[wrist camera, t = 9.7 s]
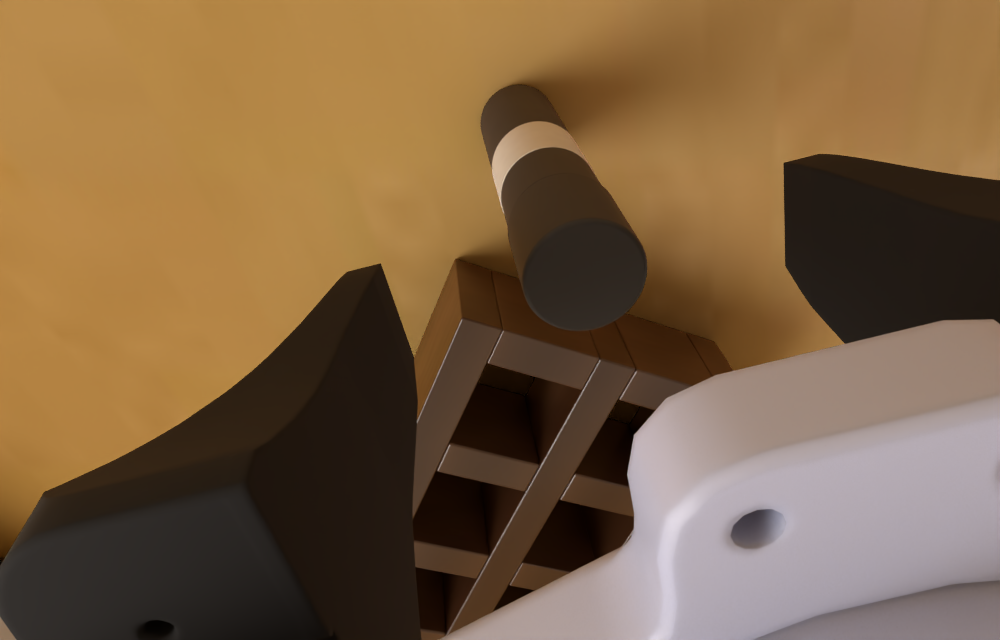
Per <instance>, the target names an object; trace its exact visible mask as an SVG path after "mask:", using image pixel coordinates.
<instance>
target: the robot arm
mask: <svg viewBox="0 0 1000 640" xmlns="http://www.w3.org/2000/svg"><path fill="white" fill-rule="evenodd" d="M784 212H785V266H786V268H787V269H788V271H789V273H790V274H791V276H792V277H793V279H794V281H795V282H796V284H797V286H798V287H799V289H800V290H801V292H802V293H803V295H804V296H805V298H806V299H807V301H808V302H809V304H810V305H811V306H812V308H813V309H814V310H815V311H816V312H817V313H818V314H819V316H820V317H821V318H822V319H823V320H824V321H825V322H826V323H827V324H828V326H829V327H830V328H831V329H832V330H833V331H834V332H835V333H836V334H837V336H838V337H839V338H840V339H841V340H842V341H843V342H844V343H845V344H843V345H838V346H834V347H830V348H826V349H822V350H818V351H814V352H809V353H805V354H801V355H797V356H793V357H789V358H785V359H780V360H776V361H772V362H768V363H764V364H760V365H756V366H751V367H747V368H743V369H739V370H735V371H731V372H727V373H722V374H718V375H715V376H713V377H711V378H709V379H706V380H704V381H702V382H700V383H698V384H696V385H694V386H691V387H689V388H687V389H685V390H683V391H681V392H678V393H676V394H674V395H672V396H670V397H668V398H666V399H665V400H664V401H663V402H662V404H661V405H660V406H659V407H658V408H657V409H656V410H655V412H654V413H653V414H652V415H651V416H650V417H649V418H648V420H647V421H646V422H645V423H644V424H643V425H642V426H641V428H640V429H639V430H638V431H637V432H636V433H635V434H634V437H633V443H632V449H631V455H630V461H629V466H628V472H627V476H628V482H629V487H630V493H631V498H632V504H633V510H634V530H633V533H632V536H631V538H630V539H629V540H628V541H627V542H626V543H625V544H624V545H623V546H622V547H620V548H618V549H616V550H614V551H612V552H610V553H608V554H606V555H604V556H602V557H600V558H598V559H596V560H594V561H592V562H590V563H588V564H586V565H584V566H582V567H580V568H578V569H576V570H574V571H572V572H570V573H569V574H567V575H565V576H563V577H561V578H559V579H557V580H555V581H553V582H551V583H549V584H547V585H545V586H543V587H541V588H539V589H537V590H535V591H533V592H531V593H529V594H527V595H525V596H523V597H521V598H519V599H517V600H515V601H513V602H511V603H509V604H507V605H506V606H504V607H502V608H500V609H498V610H496V611H494V612H492V613H490V614H488V615H486V616H484V617H482V618H480V619H478V620H476V621H474V622H472V623H470V624H468V625H466V626H464V627H462V628H460V629H458V630H456V631H454V632H452V633H450V634H448V635H446V636H444V637H443V638H441V639H439V640H1000V180H991V179H984V178H976V177H969V176H961V175H954V174H948V173H942V172H935V171H929V170H924V169H918V168H912V167H907V166H901V165H896V164H890V163H885V162H879V161H874V160H868V159H862V158H856V157H849V156H842V155H831V154H817V155H813V156H809V157H805V158H801V159H797V160H793V161H789V162H785V163H784ZM417 411H418V397H417V385H416V375H415V366H414V357H413V354H412V351H411V348H410V345H409V343H408V340H407V337H406V334H405V331H404V328H403V326H402V323H401V320H400V317H399V314H398V311H397V308H396V306H395V303H394V300H393V297H392V294H391V291H390V289H389V286H388V283H387V280H386V277H385V274H384V272H383V269H382V266H381V264H377V265H373V266H369V267H365V268H361V269H357V270H353V271H349V272H347V273H345V274H344V275H343V276H342V277H341V278H340V279H339V280H338V281H337V282H336V283H335V285H334V286H333V287H332V288H331V289H330V290H329V291H328V293H327V294H326V295H325V296H324V297H323V298H322V300H321V301H320V302H319V303H318V304H317V305H316V307H315V308H314V309H313V310H312V311H311V312H310V313H309V314H308V316H307V317H306V318H305V319H304V320H303V321H302V322H301V324H300V325H299V326H298V327H297V328H296V329H295V330H294V331H293V332H292V333H291V334H290V335H289V336H288V337H287V338H286V339H285V340H284V341H283V342H282V343H281V344H280V345H279V346H278V347H277V348H276V349H275V350H274V351H273V352H272V353H271V354H270V355H269V356H268V357H267V358H266V359H265V360H264V361H263V362H262V363H261V364H260V365H258V366H257V367H256V368H255V369H254V370H253V371H252V372H250V373H249V374H248V375H247V376H245V377H244V378H243V379H242V380H241V381H239V382H238V383H237V384H236V385H234V386H233V387H232V388H231V389H229V390H228V391H227V392H225V393H224V394H223V395H221V396H220V397H218V398H217V399H216V400H214V401H213V402H211V403H210V404H208V405H207V406H205V407H204V408H202V409H201V410H199V411H198V412H197V413H195V414H194V415H192V416H191V417H189V418H188V419H186V420H185V421H183V422H182V423H180V424H179V425H177V426H175V427H174V428H172V429H170V430H169V431H167V432H165V433H164V434H162V435H160V436H158V437H157V438H155V439H153V440H151V441H150V442H148V443H146V444H144V445H142V446H140V447H139V448H137V449H135V450H133V451H131V452H129V453H128V454H126V455H124V456H122V457H120V458H118V459H116V460H114V461H112V462H110V463H108V464H105V465H103V466H101V467H99V468H97V469H95V470H92V471H90V472H88V473H86V474H84V475H81V476H79V477H77V478H75V479H73V480H71V481H68V482H66V483H64V484H62V485H60V486H57V487H55V488H53V489H50V490H48V491H46V492H44V493H43V495H42V497H41V499H40V500H39V502H38V504H37V505H36V507H35V509H34V510H33V512H32V514H31V515H30V517H29V519H28V520H27V522H26V524H25V525H24V527H23V529H22V530H21V532H20V534H19V535H18V537H17V539H16V540H15V542H14V544H13V545H12V547H11V549H10V550H9V552H8V554H7V555H6V557H5V559H4V560H3V562H2V564H1V565H0V617H1V619H2V620H3V622H4V623H5V625H6V626H7V627H8V629H9V630H10V632H11V633H12V635H13V636H14V637H15V639H16V640H422V639H421V629H420V618H419V606H418V593H417V581H416V568H415V553H414V537H413V485H414V467H415V450H416V432H417Z"/></svg>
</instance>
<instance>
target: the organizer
mask: <svg viewBox="0 0 1000 640" xmlns="http://www.w3.org/2000/svg"><path fill="white" fill-rule="evenodd" d="M487 363H488V364H491V365H494V366H498V367H501V368H505V369H508V370H512V371H516V372H519V373H523V374H526V375H530V376H533V377H535V379H534V381H533V383H532V385H531V387H530V389H529V391H528V393H527V395H526V397H524V396H522V395H518V394H514V393H511V392H507V391H503V390H500V389H496V388H492V387H488V386H485V385H481V384H477V383H478V380H479V378H480V376H481V374H482V372H483V370H484V368H485V366H486V364H487ZM414 366H415V375H416V385H417V397H418V411H417V432H416V450H415V467H414V485H413V537H414V553H415V568H416V581H417V593H418V606H419V618H420V629H421V639H422V640H439V639H441V638H443V637H444V636H446V635H448V634H450V633H452V632H454V631H456V630H458V629H460V628H462V627H464V626H466V625H468V624H470V623H472V622H474V621H476V620H478V619H480V618H482V617H484V616H486V615H488V614H490V613H492V612H494V611H496V610H498V609H500V608H502V607H504V606H506V605H507V604H509V603H511V602H513V601H515V600H517V599H519V598H521V597H523V596H525V595H527V594H529V593H531V592H533V591H535V590H537V589H539V588H541V587H543V586H545V585H547V584H549V583H551V582H553V581H555V580H557V579H559V578H561V577H563V576H565V575H567V574H569V573H570V572H572V571H574V570H576V569H578V568H580V567H582V566H584V565H586V564H588V563H590V562H592V561H594V560H596V559H598V558H600V557H602V556H604V555H606V554H608V553H610V552H612V551H614V550H616V549H618V548H620V547H622V546H623V545H624V544H625V543H626V542H627V541H628V540H629V539H630V538H631V536H632V533H633V530H634V510H633V504H632V498H631V493H630V487H629V482H628V476H627V472H628V466H629V461H630V455H631V449H632V443H633V437H634V434H635V433H636V432H637V431H638V430H639V429H640V428H641V426H642V425H643V424H644V423H645V422H646V421H647V420H648V418H649V417H650V416H651V415H652V414H653V413H654V412H655V410H656V409H657V408H658V407H659V406H660V405H661V404H662V402H663V401H664V400H665V399H666V398H668V397H670V396H672V395H674V394H676V393H678V392H681V391H683V390H685V389H687V388H689V387H691V386H694V385H696V384H698V383H700V382H702V381H704V380H706V379H709V378H711V377H713V376H715V375H718V374H722V373H727V372H731V371H733V369H732V368H731V366H730V365H729V363H728V362H727V360H726V359H725V357H724V356H723V354H722V352H721V351H720V349H719V348H718V346H717V345H716V343H715V342H714V341H711V340H707V339H704V338H701V337H698V336H695V335H692V334H689V333H685V332H682V331H679V330H676V329H673V328H669V327H666V326H663V325H660V324H657V323H654V322H651V321H648V320H644V319H641V318H638V317H635V316H632V315H629V314H626V313H625V314H624V315H623V316H621V317H620V318H618V319H617V320H615V321H614V322H612V323H610V324H608V325H605V326H603V327H600V328H597V329H593V330H587V331H570V330H564V329H560V328H557V327H555V326H552V325H550V324H548V323H547V322H545V321H543V320H542V319H541V318H539V317H538V316H537V315H536V314H535V313H534V312H533V311H532V309H531V308H530V307H529V305H528V303H527V301H526V299H525V297H524V294H523V290H522V287H521V283H520V279H517V278H514V277H511V276H508V275H505V274H502V273H498V272H495V271H490V270H489V269H486V268H483V267H480V266H477V265H473V264H470V263H467V262H464V261H461V260H458V259H455V260H454V263H453V265H452V268H451V270H450V273H449V275H448V277H447V280H446V282H445V285H444V287H443V290H442V292H441V294H440V297H439V299H438V302H437V304H436V306H435V309H434V311H433V314H432V316H431V319H430V321H429V323H428V326H427V328H426V331H425V333H424V335H423V338H422V340H421V343H420V345H419V348H418V350H417V352H416V355H415V357H414ZM618 399H619V400H620V401H624V402H627V403H631V404H634V405H638V406H641V407H640V409H639V410H638V412H637V414H636V415H635V417H634V418H633V420H632V422H631V423H630V425H628V424H625V423H621V422H618V421H614V420H610V419H607V417H608V416H609V414H610V412H611V411H612V409H613V407H614V406H615V404H616V402H617V400H618ZM436 470H437V471H438V472H437V471H436ZM441 472H442V473H441ZM559 499H560V500H559Z"/></svg>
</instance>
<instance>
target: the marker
mask: <svg viewBox="0 0 1000 640" xmlns="http://www.w3.org/2000/svg"><path fill="white" fill-rule="evenodd" d="M481 131H482V135H483V139H484V143H485V146H486V150H487V153H488V157H489V161H490V164H491V168H492V173H493V178H494V182H495V185H496V189H497V193H498V196H499V200H500V204H501V207H502V210H503V213H504V215H505V218H506V222H507V225H508V237H509V242H510V246H511V250H512V253H513V257H514V261H515V264H516V268H517V272H518V275H519V279H520V283H521V287H522V290H523V294H524V297H525V299H526V301H527V303H528V305H529V307H530V308H531V309H532V311H533V312H534V313H535V314H536V315H537V316H538V317H539V318H541V319H542V320H543V321H545V322H547V323H548V324H550V325H552V326H555V327H557V328H560V329H564V330H570V331H587V330H593V329H597V328H600V327H603V326H605V325H608V324H610V323H612V322H614V321H615V320H617V319H618V318H620V317H621V316H623V315H624V314H625V313H626V312H627V311H628V310H629V309H630V308H631V307H632V306H633V305H634V304H635V302H636V301H637V299H638V298H639V296H640V294H641V292H642V290H643V287H644V284H645V281H646V276H647V259H646V254H645V251H644V249H643V246H642V244H641V243H640V241H639V239H638V238H637V236H636V234H635V233H634V231H633V230H632V228H631V227H630V225H629V223H628V222H627V220H626V219H625V217H624V215H623V214H622V212H621V211H620V209H619V208H618V206H617V204H616V203H615V201H614V200H613V198H612V196H611V195H610V194H609V192H608V191H607V190H606V189H605V188H604V187H603V186H602V185H601V184H600V182H599V181H598V179H597V177H596V176H595V174H594V172H593V169H592V168H591V166H590V164H589V163H588V161H587V159H586V158H585V156H584V155H583V153H582V151H581V150H580V148H579V147H578V145H577V143H576V142H575V140H574V139H573V138H572V136H571V135H570V134H569V132H568V131H567V129H566V127H565V126H564V124H563V123H562V121H561V119H560V118H559V116H558V115H557V113H556V111H555V110H554V108H553V107H552V105H551V103H550V102H549V100H548V99H547V98H546V96H545V95H544V94H543V93H541V92H540V91H539V90H537V89H535V88H533V87H530V86H526V85H512V86H508V87H505V88H503V89H501V90H499V91H498V92H496V93H495V94H494V95H493V96H492V97H491V98H490V99H489V100H488V102H487V103H486V105H485V107H484V109H483V112H482V116H481Z"/></svg>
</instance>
